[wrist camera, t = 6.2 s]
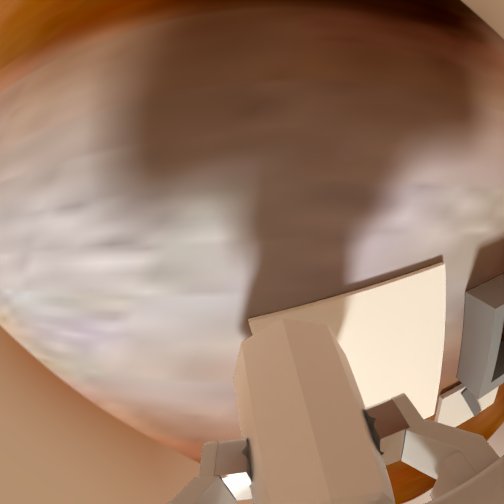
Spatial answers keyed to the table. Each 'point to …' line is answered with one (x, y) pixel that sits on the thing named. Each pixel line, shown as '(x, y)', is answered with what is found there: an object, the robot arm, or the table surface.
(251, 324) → the paper
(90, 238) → the table surface
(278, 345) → the pepper shaker
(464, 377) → the button housing
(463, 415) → the card
